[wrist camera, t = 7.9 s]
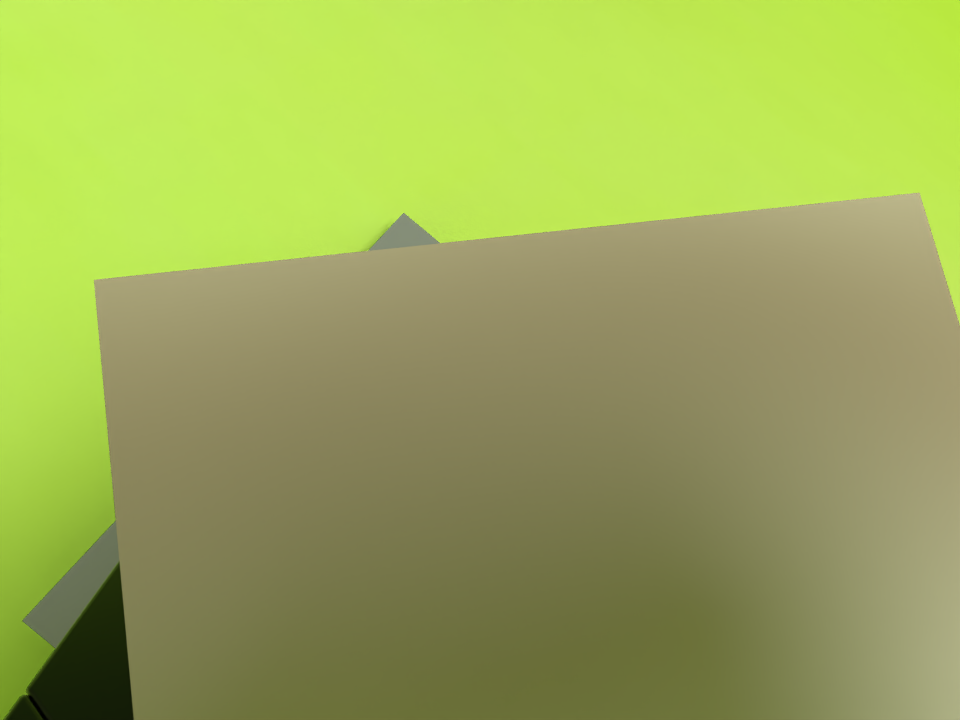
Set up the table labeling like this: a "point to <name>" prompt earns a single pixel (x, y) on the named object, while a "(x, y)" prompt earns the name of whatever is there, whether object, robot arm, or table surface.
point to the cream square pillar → (547, 475)
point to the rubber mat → (102, 557)
